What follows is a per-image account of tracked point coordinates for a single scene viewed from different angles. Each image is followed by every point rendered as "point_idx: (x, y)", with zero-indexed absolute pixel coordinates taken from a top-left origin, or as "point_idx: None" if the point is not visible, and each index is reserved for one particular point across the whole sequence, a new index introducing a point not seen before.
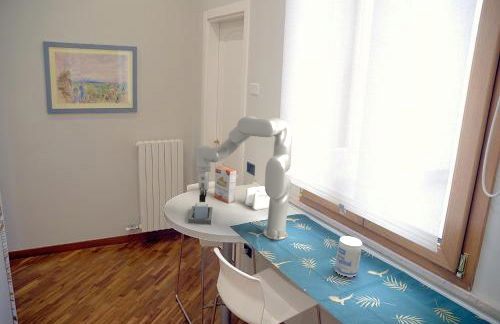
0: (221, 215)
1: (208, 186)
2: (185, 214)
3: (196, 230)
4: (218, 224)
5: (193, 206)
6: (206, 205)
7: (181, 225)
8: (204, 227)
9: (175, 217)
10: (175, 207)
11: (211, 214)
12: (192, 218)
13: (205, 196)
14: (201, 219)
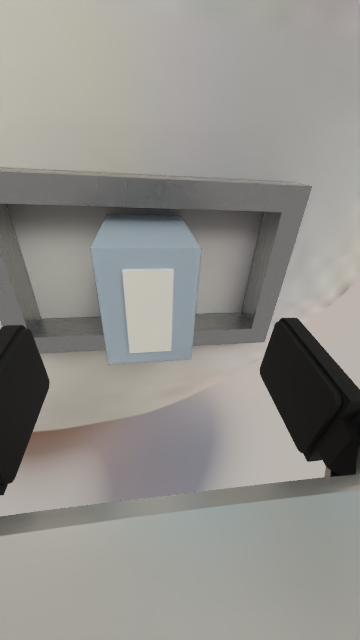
0: (60, 43)
1: (49, 596)
2: None
3: (353, 274)
4: (298, 103)
5: None
6: (148, 265)
7: None
8: (326, 229)
9: (172, 385)
10: None
11: (177, 183)
12: (258, 322)
13: (27, 332)
14: (283, 266)
